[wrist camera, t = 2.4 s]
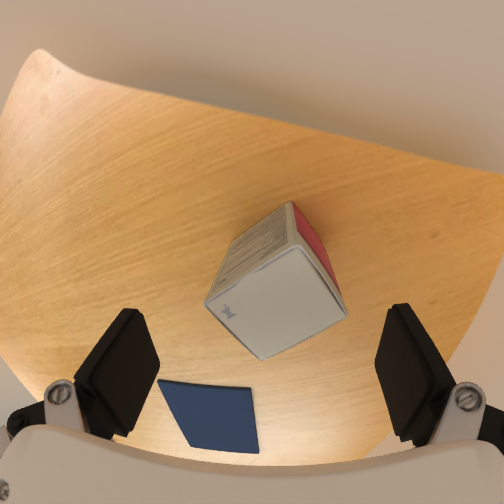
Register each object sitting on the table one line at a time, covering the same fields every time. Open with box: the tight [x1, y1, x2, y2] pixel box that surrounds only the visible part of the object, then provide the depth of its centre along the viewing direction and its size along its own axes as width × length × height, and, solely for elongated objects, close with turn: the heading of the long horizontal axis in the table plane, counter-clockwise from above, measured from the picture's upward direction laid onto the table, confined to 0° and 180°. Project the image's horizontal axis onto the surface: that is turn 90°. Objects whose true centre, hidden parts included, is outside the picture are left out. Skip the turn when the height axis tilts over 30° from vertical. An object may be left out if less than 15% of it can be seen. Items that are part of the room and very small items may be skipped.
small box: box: [204, 201, 348, 361], centre depth 15 cm, size 5×4×8 cm
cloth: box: [157, 379, 259, 454], centre depth 28 cm, size 10×16×1 cm, turn 4°
